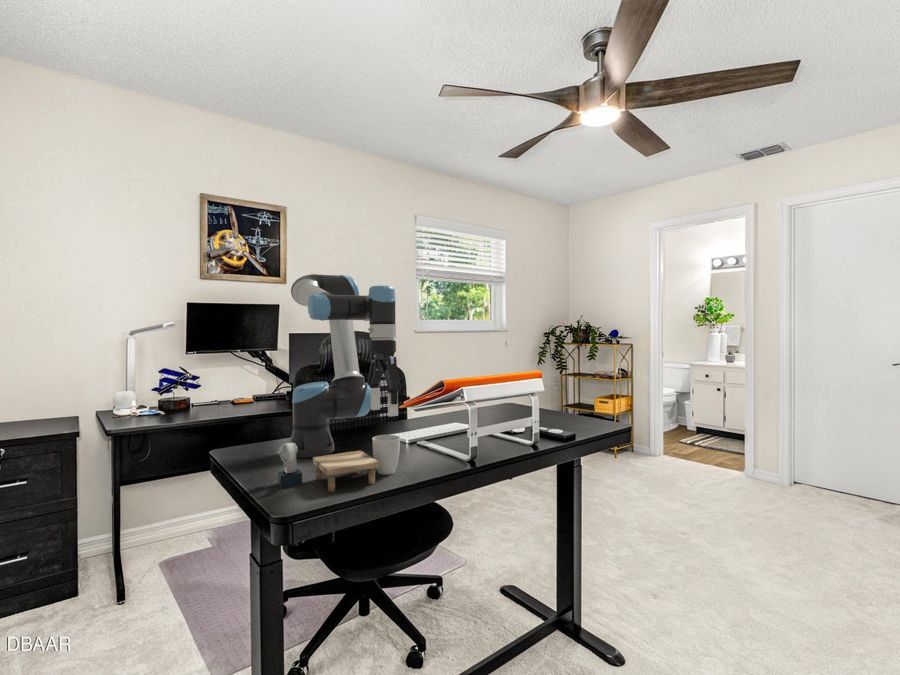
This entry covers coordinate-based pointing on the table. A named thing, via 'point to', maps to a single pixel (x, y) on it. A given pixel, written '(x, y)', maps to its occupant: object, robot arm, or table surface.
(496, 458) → the table surface
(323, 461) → the small wooden table
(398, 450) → the cup
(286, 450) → the watch
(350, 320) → the robot arm
